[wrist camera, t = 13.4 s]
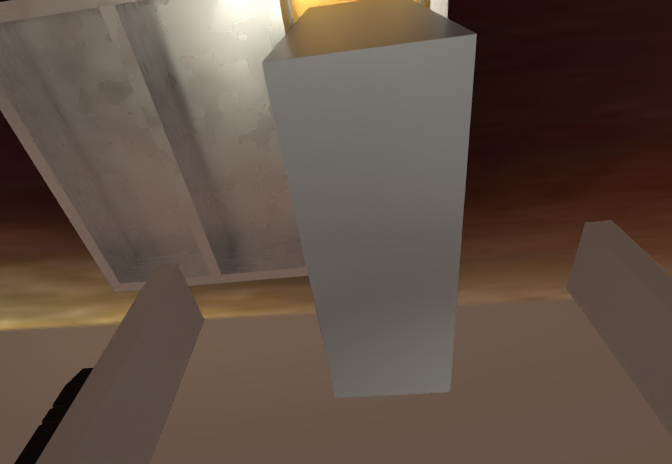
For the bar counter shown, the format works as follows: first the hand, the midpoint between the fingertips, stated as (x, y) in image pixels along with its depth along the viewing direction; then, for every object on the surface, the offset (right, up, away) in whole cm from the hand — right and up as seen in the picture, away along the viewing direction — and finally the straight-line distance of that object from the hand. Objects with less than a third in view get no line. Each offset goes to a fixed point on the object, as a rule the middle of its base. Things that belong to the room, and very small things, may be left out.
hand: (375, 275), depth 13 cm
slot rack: (-7, +8, +13) cm, 16 cm away
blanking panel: (0, +8, +11) cm, 14 cm away
